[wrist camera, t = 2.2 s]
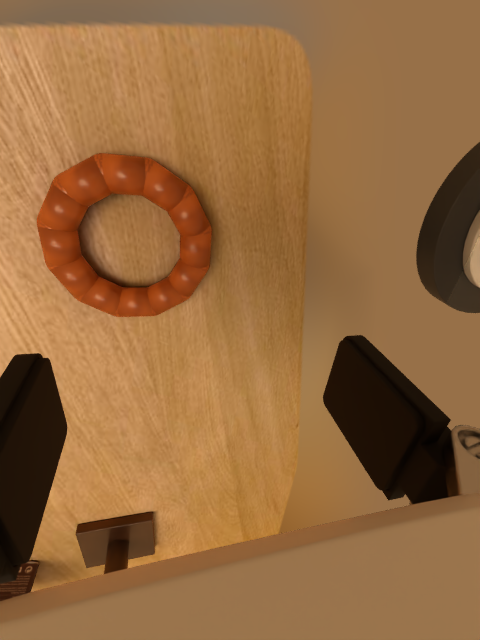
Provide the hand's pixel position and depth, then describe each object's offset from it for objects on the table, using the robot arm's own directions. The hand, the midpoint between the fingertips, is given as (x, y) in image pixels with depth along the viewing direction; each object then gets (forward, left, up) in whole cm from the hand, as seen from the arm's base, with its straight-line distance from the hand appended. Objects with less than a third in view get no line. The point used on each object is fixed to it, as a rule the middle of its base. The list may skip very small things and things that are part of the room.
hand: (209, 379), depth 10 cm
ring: (+3, -1, -12) cm, 13 cm away
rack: (+7, +35, -13) cm, 38 cm away
